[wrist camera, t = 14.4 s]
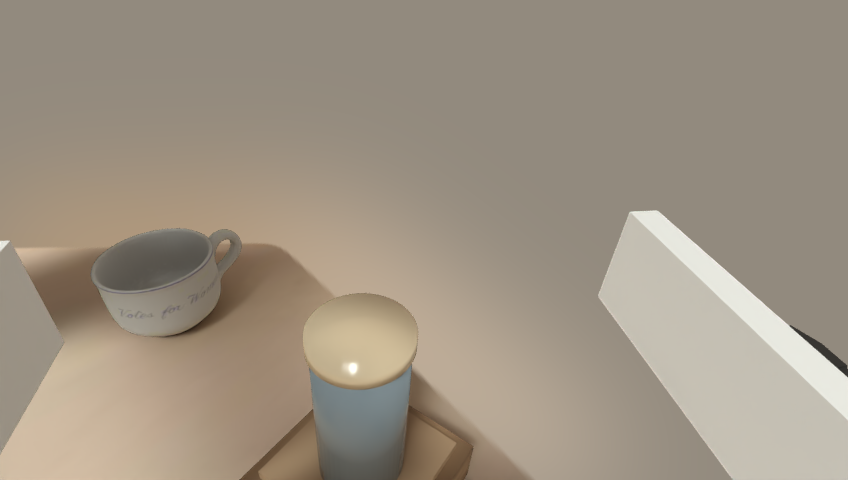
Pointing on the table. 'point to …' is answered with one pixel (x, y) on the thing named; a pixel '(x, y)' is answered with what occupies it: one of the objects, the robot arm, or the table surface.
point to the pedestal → (422, 467)
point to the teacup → (163, 279)
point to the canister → (360, 384)
